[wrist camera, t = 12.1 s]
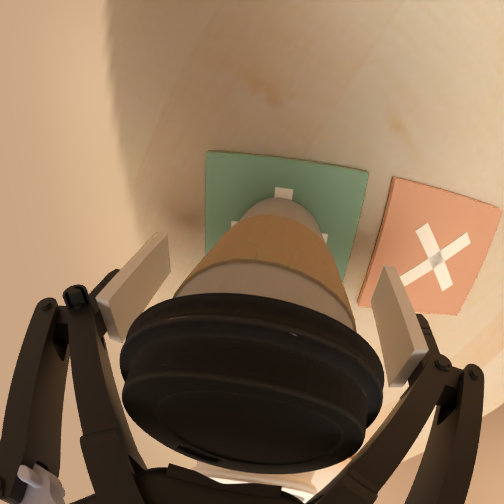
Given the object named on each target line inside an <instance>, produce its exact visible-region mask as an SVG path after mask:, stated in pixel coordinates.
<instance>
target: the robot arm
mask: <svg viewBox="0 0 504 504" xmlns="http://www.w3.org/2000/svg"><path fill="white" fill-rule="evenodd" d="M170 272H171V269H170V259H169V248H168V236H167V234H163V233H156V234H155V235H154V236H153V237H152V238H151V239H150V240H149V241H148V242H147V243H146V244H145V245H144V246H143V247H142V248H141V249H140V250H139V251H138V252H137V253H136V254H135V255H134V256H133V257H132V258H131V259H130V260H129V261H128V262H127V263H126V265H124V267H123V268H122V269H121V270H119V269H115V270H114V271H112V272H110V273H109V274H107V276H106V277H105V278H104V279H103V280H102V281H101V282H100V283H99V284H98V285H97V286H96V287H95V288H94V289H93V291H92V292H91V293H90V294H89V295H88V292H87V289H86V287H85V286H83V285H73V286H70V287H69V288H67V289H66V290H65V291H64V292H63V299H64V301H65V304H66V306H58V304H57V301H56V299H54V298H45V299H43V300H41V301H40V302H39V303H38V304H37V306H36V308H35V310H34V313H33V316H32V318H31V321H30V324H29V326H28V329H27V332H26V335H25V338H24V341H23V344H22V347H21V350H20V353H19V356H18V360H17V364H16V367H15V371H14V374H13V378H12V383H11V386H10V391H9V395H8V400H7V405H6V410H5V417H4V422H3V429H2V437H1V440H0V499H1V500H3V501H5V502H7V503H9V504H65V502H64V500H63V497H64V496H65V490H64V489H63V487H62V484H61V482H60V480H59V479H58V477H59V469H60V448H61V447H60V446H61V423H62V411H63V400H64V392H65V384H66V376H67V370H68V364H69V357H70V359H71V367H72V376H73V384H74V390H75V396H76V402H77V408H78V413H79V418H80V422H81V427H82V432H83V436H81V437H80V445H81V449H82V453H83V456H84V460H85V463H86V466H87V470H88V473H89V476H90V479H91V482H92V485H93V488H94V491H95V494H92V495H90V496H88V497H85V498H83V499H80V500H78V501H75V502H72V503H70V504H304V503H303V502H302V501H301V500H300V499H298V498H297V497H295V496H294V495H292V494H290V493H287V492H285V491H282V486H277V485H268V484H260V483H239V484H223V483H220V482H218V481H215V480H213V479H211V478H209V477H207V476H205V475H203V474H201V473H199V472H197V471H194V470H191V469H187V468H184V467H180V466H177V465H173V464H169V466H168V468H166V467H162V468H161V467H159V468H151V469H147V467H146V465H145V463H144V461H143V460H142V458H141V456H140V454H139V452H138V450H137V447H136V445H135V442H134V440H133V437H132V434H131V432H130V429H129V426H128V423H127V420H126V417H125V414H124V411H123V408H122V405H121V401H120V398H119V395H118V391H117V388H116V384H115V380H114V377H113V373H112V369H111V365H110V361H109V357H108V352H107V347H106V343H105V339H104V334H105V333H106V332H108V335H109V338H110V339H112V340H115V341H118V342H121V343H123V341H124V339H125V338H126V336H127V333H128V330H129V328H130V326H131V324H132V323H133V322H134V320H135V319H136V318H137V317H138V316H139V315H140V314H141V313H142V312H143V311H144V309H145V308H146V306H147V305H148V303H149V302H150V300H151V299H152V298H153V296H154V295H155V293H156V292H157V290H158V289H159V287H160V286H161V285H162V283H163V282H164V280H165V279H166V278H167V276H168V275H169V273H170ZM370 302H371V305H372V309H373V313H374V317H375V322H376V326H377V330H378V334H379V339H380V344H381V348H382V353H383V358H384V363H385V368H386V374H387V379H388V385H389V387H403V385H404V384H405V383H406V382H407V380H408V383H409V387H408V389H407V390H406V391H405V392H404V394H403V395H402V396H401V397H400V400H399V402H398V403H397V404H396V406H395V407H394V409H393V410H392V411H391V413H390V414H389V415H388V417H387V418H386V419H385V421H384V422H383V423H382V425H381V426H380V427H379V428H378V430H377V431H376V432H375V433H374V435H373V436H372V437H371V438H370V439H369V441H368V442H367V443H366V444H365V445H364V447H363V448H362V449H361V450H360V451H359V452H358V453H357V454H356V456H355V457H354V458H353V459H352V460H351V461H350V462H349V463H348V464H347V465H346V466H345V467H344V468H343V469H342V471H341V472H340V473H339V474H338V475H337V476H336V477H335V478H334V479H333V480H332V481H330V482H329V483H328V484H327V485H326V486H325V487H324V488H323V489H322V490H321V491H319V492H318V493H317V494H316V495H314V496H313V497H312V498H311V499H310V500H308V501H307V502H306V503H305V504H373V503H374V502H375V500H376V499H377V497H378V495H377V494H378V491H379V490H380V489H381V488H382V486H383V485H384V484H385V483H386V481H387V480H388V479H389V477H390V476H391V475H392V474H393V472H394V471H395V469H396V468H397V467H398V465H399V464H400V463H401V461H402V460H403V458H404V457H405V455H406V454H407V452H408V451H409V449H410V448H411V446H412V445H413V443H414V442H415V440H416V438H417V437H418V435H419V433H420V432H421V430H422V428H423V427H424V425H425V423H426V422H427V420H428V418H429V416H430V414H431V413H432V411H433V409H434V407H435V405H437V407H436V411H435V416H434V420H433V424H432V427H431V431H430V435H429V438H428V442H427V445H426V448H425V451H424V455H423V458H422V461H421V464H420V466H419V469H418V472H417V475H416V477H415V480H414V482H413V485H412V487H411V490H410V492H409V494H408V497H407V499H406V501H405V504H464V503H465V500H466V496H467V493H468V489H469V486H470V481H471V478H472V474H473V469H474V465H475V460H476V455H477V449H478V443H479V436H480V429H481V421H482V411H483V397H484V374H483V372H482V370H481V369H480V368H479V367H478V366H477V365H475V364H468V365H467V366H466V367H465V368H464V369H463V370H462V369H459V368H455V367H452V364H451V362H450V360H449V359H448V358H447V357H446V356H444V355H442V354H440V352H439V350H438V347H437V344H436V342H435V339H434V336H433V335H432V331H431V329H430V326H429V324H428V321H427V320H426V319H425V318H424V316H423V315H422V314H415V312H414V309H413V307H412V304H411V302H410V300H409V297H408V295H407V293H406V290H405V288H404V286H403V283H402V281H401V279H400V277H399V275H398V272H397V270H396V268H395V267H393V266H387V265H384V266H383V269H382V271H381V274H380V277H379V280H378V283H377V285H376V288H375V291H374V293H373V296H372V299H371V301H370Z"/></svg>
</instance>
